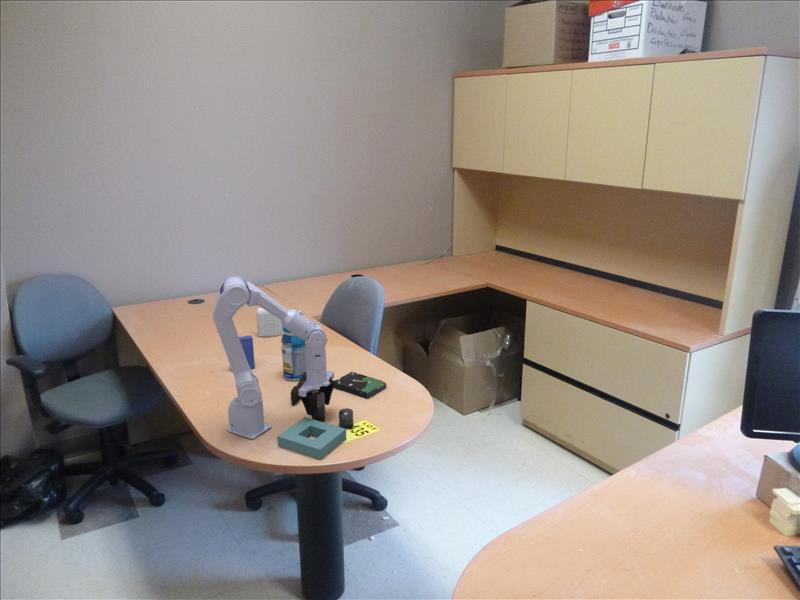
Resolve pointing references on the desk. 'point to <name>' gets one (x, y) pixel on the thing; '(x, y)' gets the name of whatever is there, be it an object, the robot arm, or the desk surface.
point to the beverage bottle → (293, 356)
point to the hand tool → (297, 389)
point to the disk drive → (360, 385)
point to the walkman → (248, 349)
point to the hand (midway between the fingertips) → (318, 409)
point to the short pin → (346, 418)
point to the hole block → (316, 448)
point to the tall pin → (319, 405)
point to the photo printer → (268, 324)
